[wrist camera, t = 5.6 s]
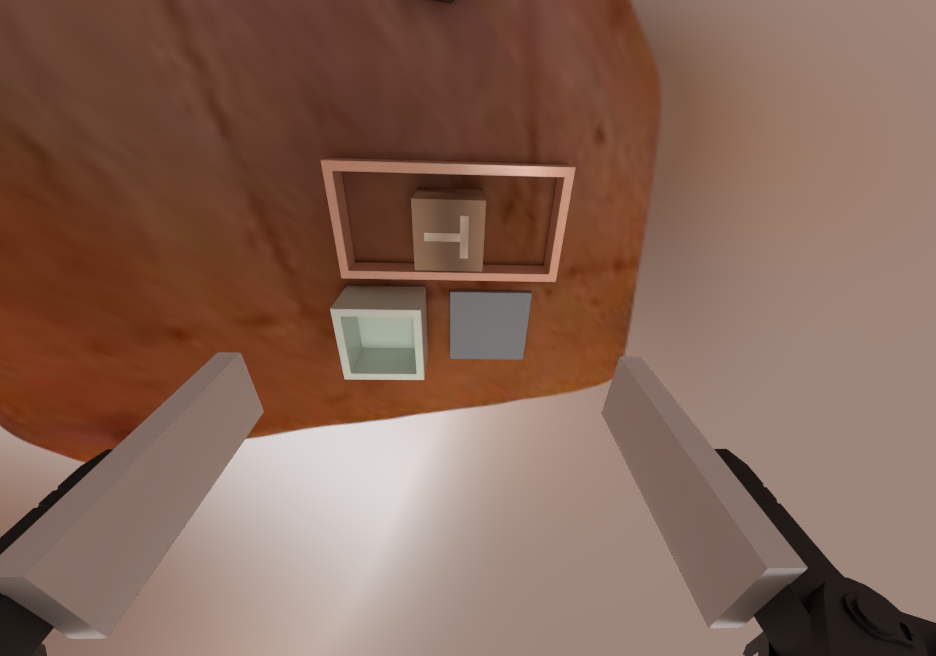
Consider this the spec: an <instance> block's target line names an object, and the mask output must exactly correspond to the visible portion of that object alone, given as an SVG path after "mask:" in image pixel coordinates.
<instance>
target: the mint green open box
mask: <svg viewBox="0 0 936 656" xmlns="http://www.w3.org/2000/svg"><path fill="white" fill-rule="evenodd" d="M330 311H331V316H332V321H333V325H334V330H335V335H336V340H337V345H338V350H339V354H340V359H341V364H342V369H343V374H344V378H345V379H364V380H424V379H425V371H426V364H427V357H428V331H427V306H426V287H403V286H346V287H345V289H344V290H343V292H342V293H341V294H340V296H339V297H338V299H337V300H336V301H335V303H334V304H333V306H332V307H331V308H330Z"/></svg>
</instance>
